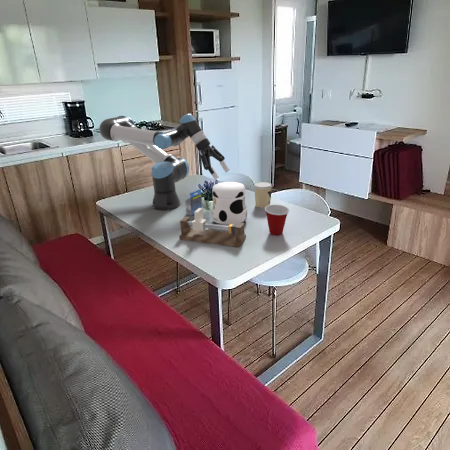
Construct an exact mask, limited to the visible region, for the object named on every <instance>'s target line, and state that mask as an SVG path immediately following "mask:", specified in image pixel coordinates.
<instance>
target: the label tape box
mask: <svg viewBox="0 0 450 450" xmlns="http://www.w3.org/2000/svg"><path fill="white" fill-rule="evenodd" d="M189 196H190V197H189V198H186V199H185V214H187V216H189V217H192V215H193V216H195V215H194V212H195V211H196V210H197V209H198V208H202V209H203V207H202V206H203V205H202V202H203V201H202V200H203V199H202V189H198V190H194V191H192V192H190V193H189Z"/></svg>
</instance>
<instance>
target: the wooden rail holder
mask: <svg viewBox="0 0 450 450" xmlns="http://www.w3.org/2000/svg"><path fill="white" fill-rule="evenodd" d="M190 218H191V216H184V217H182V218H181V219H180V220H179V226H180V233H181V234H180V235H179V236H178V237H179V240H182V241H188V242H196V243H203V244H204V243H205V244H211V245H218V246H227V247H231V248H232V247H233V248H240V246H241V245H242V244H243V243H244V242H245V239H246V238H247V234H245V223H244V222H243V223H238V224H237V226H236V227H235V234H232V233H229V231H224V230H215V229H207V228H206V229H205V230H204V231H198V230H193V227H192V226H187V222H188V221H191V219H190Z"/></svg>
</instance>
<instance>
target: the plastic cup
mask: <svg viewBox="0 0 450 450" xmlns="http://www.w3.org/2000/svg"><path fill="white" fill-rule="evenodd" d="M264 210H265V214H266V219H267V226H268V232H269V234H270V235H272V236H276V237H279V236H281V235H282V234H283V233H284V230H285V229H284V228H285V225H286V220H287V216H288V214H289V213H290V209H289V207H287V206H284V205H282V204H270V205H268V206H266V207H265V208H264Z"/></svg>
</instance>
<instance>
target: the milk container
mask: <svg viewBox="0 0 450 450" xmlns="http://www.w3.org/2000/svg"><path fill="white" fill-rule="evenodd" d="M211 191H212V209H211V217H212V220H213V222H214V223H215V224H219V225H228V226H229V225H230V224H231V223H232V224H234V223H237V224H238V223H244V222H245V221H246V220H247V217H248V207H247V205H246V187H245V185H244V184H243V183H241V182H238V181H237V182H236V181H224V182H219V183H216V184H214V185H213V186H212V190H211Z"/></svg>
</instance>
